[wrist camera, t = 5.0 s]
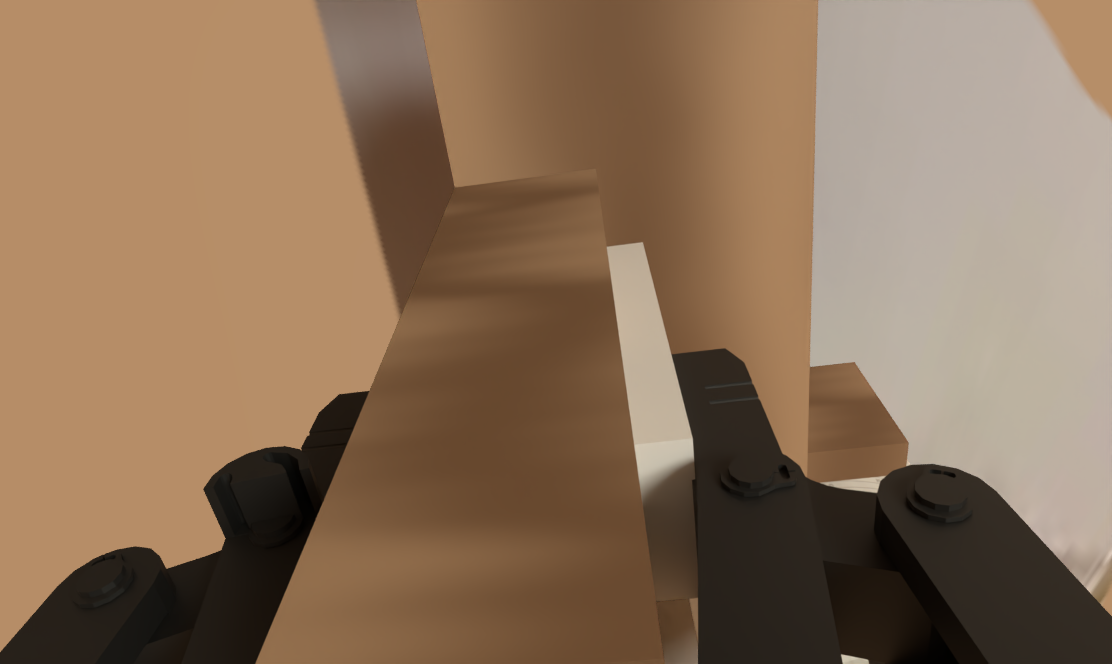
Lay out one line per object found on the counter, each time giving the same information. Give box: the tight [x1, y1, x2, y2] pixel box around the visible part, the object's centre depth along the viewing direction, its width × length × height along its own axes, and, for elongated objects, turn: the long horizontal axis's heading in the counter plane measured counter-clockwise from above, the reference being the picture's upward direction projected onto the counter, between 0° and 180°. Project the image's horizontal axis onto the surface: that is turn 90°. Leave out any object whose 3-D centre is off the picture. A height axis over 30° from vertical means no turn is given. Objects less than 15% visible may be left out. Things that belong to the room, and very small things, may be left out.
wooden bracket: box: [255, 0, 909, 664], centre depth 13 cm, size 10×13×16 cm
